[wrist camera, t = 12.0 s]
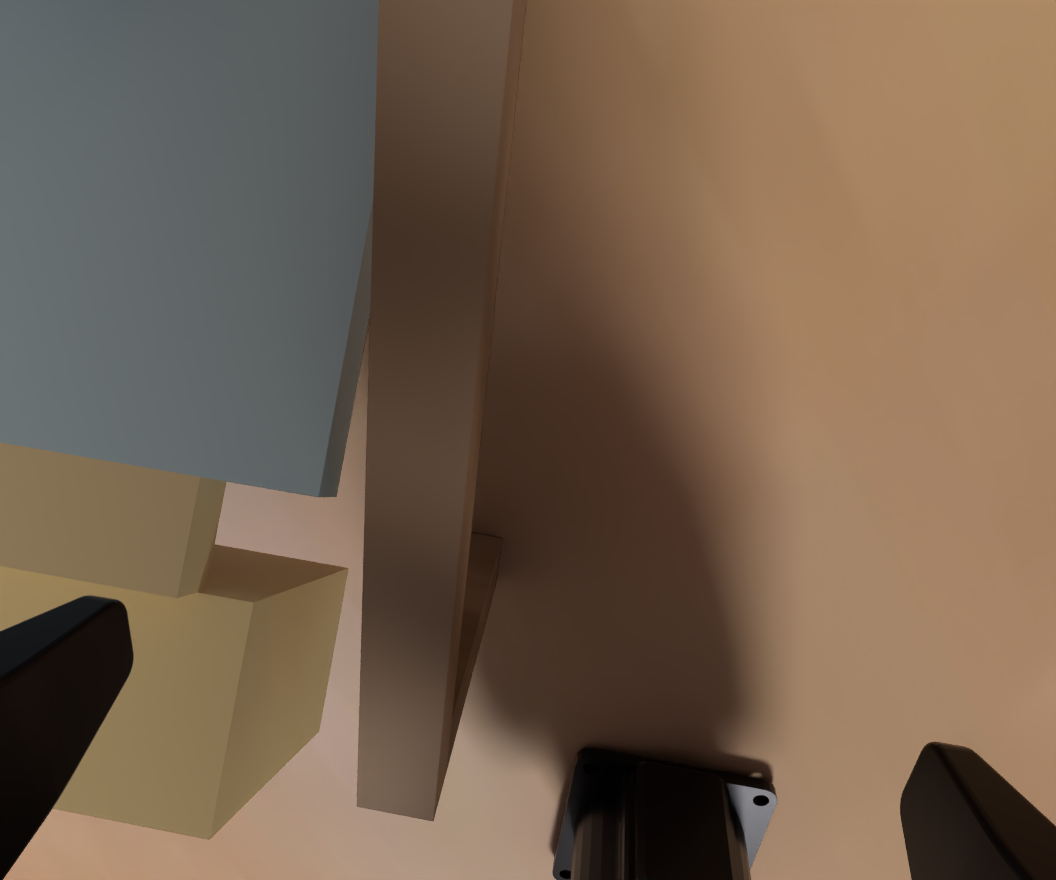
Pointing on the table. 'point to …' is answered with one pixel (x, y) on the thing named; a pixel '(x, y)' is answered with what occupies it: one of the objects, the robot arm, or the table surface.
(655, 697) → the table surface
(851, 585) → the table surface
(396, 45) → the frame
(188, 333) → the trapdoor
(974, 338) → the table surface
